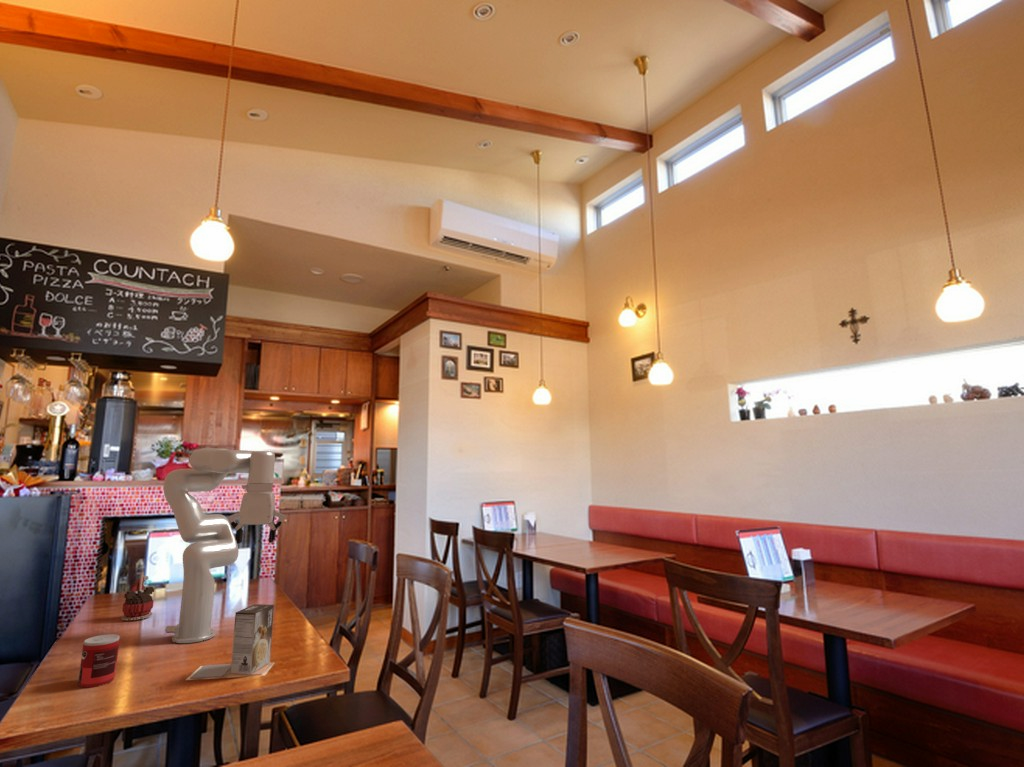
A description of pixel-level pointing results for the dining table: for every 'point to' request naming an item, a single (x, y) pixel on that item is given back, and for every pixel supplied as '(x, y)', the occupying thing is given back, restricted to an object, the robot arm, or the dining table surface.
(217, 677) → the serving board
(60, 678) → the dining table surface
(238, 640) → the coffee box
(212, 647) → the dining table surface
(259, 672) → the terracotta pad
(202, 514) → the robot arm
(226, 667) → the slate pad
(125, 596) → the cake
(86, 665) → the canned food
